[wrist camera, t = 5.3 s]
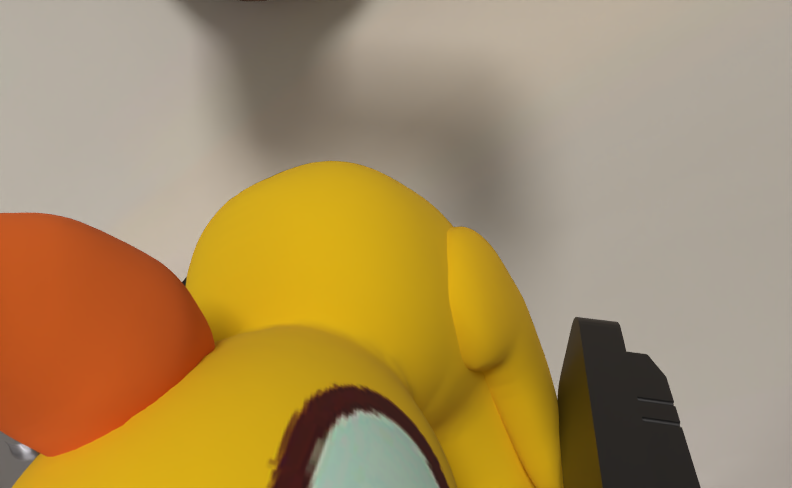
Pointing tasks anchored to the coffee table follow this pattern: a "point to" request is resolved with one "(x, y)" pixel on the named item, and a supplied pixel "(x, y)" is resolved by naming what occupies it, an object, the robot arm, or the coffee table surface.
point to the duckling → (276, 349)
